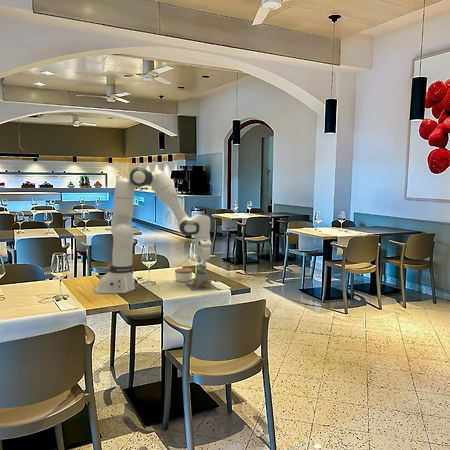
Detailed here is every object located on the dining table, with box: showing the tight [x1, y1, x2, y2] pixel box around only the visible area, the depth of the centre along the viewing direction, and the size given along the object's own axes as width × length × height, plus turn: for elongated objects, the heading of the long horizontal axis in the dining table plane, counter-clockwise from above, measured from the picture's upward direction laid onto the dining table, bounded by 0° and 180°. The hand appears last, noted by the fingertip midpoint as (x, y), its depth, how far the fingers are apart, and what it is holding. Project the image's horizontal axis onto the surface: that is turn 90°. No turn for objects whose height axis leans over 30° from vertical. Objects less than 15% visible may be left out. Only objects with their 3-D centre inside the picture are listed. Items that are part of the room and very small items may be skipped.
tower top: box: [194, 271, 209, 282], centre depth 255 cm, size 6×6×4 cm
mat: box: [185, 282, 219, 292], centre depth 256 cm, size 16×16×1 cm
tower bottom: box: [192, 278, 211, 289], centre depth 256 cm, size 8×8×4 cm
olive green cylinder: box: [197, 263, 207, 274], centre depth 255 cm, size 5×5×5 cm
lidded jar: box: [174, 266, 193, 283], centre depth 268 cm, size 11×11×9 cm
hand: (201, 264), depth 254 cm, fingers open, 8 cm apart
